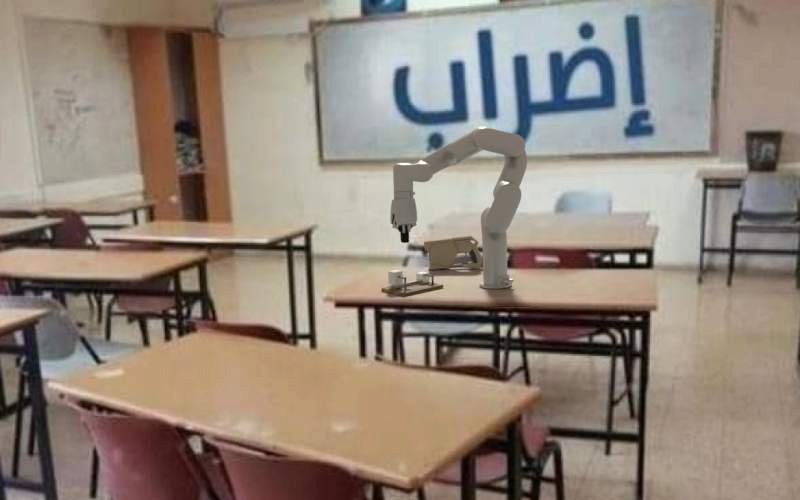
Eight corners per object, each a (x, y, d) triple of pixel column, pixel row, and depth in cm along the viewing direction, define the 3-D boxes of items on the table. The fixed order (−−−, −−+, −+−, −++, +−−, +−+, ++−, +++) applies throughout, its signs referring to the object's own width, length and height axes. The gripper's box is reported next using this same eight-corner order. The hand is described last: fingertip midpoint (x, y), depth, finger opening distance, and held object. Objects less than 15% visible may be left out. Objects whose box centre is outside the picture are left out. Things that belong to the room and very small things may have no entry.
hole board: (443, 287, 315) (443, 284, 315) (403, 296, 303) (403, 293, 303) (420, 282, 326) (420, 279, 326) (381, 291, 314) (381, 287, 314)
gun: (483, 267, 352) (479, 234, 349) (483, 269, 349) (479, 235, 346) (428, 273, 355) (424, 240, 352) (428, 275, 351) (423, 241, 349)
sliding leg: (410, 288, 309) (409, 272, 308) (402, 289, 307) (401, 273, 306) (396, 285, 316) (396, 269, 315) (388, 286, 313) (388, 271, 312)
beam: (436, 283, 318) (436, 274, 317) (399, 291, 306) (399, 282, 306) (423, 280, 324) (423, 271, 324) (386, 288, 313) (386, 279, 312)
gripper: (413, 193, 314) (414, 239, 317) (382, 196, 306) (383, 243, 309) (424, 194, 308) (425, 241, 311) (393, 197, 300) (395, 245, 303)
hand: (404, 242), depth 310 cm, fingers closed
